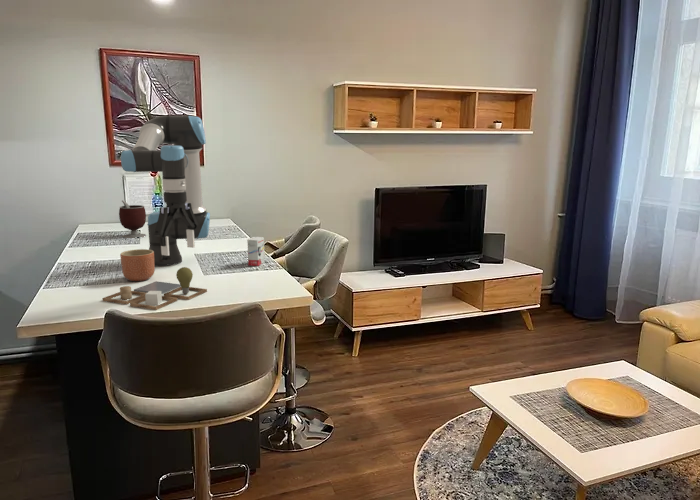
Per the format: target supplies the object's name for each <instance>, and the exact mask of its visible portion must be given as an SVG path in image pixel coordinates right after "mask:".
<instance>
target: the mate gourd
mask: <svg viewBox="0 0 700 500" xmlns="http://www.w3.org/2000/svg"><path fill="white" fill-rule="evenodd" d="M121 202H122V203H123V205H122V206H119V209H118V218H119V221H120V222H119V223H120V225H121V226H122V227H123V229H126V230H129V231H130V233H127V234H124V235H122V238H123V237H125V238H124V239H127V238H135V237H142V238H145V237H147V234H146V233H138V230H139V229H142V228H143V227H144V226H145V224H146V220H147V213H146V208H145V205H140V204H134V205H133V204H132V205H131V204H129V203H127V202H126V201H125V200H121ZM144 236H145V237H144ZM135 239H136V238H135Z"/></svg>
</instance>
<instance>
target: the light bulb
mask: <svg viewBox="0 0 700 500" xmlns="http://www.w3.org/2000/svg"><path fill="white" fill-rule="evenodd" d="M175 274H176V275H175V276H176V279H177V282H178V284H180V285H181V288H182V290H181V292H182V294H183V295H188V294H189V293H190V290H189V287H191V286H190V284H191V282H192V280H193V275H194V274H193V271H192V270H191V269H190V268H189V267H187V266H182V267H180V268H179V269H178V270H177V271H176V273H175Z"/></svg>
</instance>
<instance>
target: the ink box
mask: <svg viewBox="0 0 700 500" xmlns="http://www.w3.org/2000/svg"><path fill="white" fill-rule="evenodd" d="M246 243H247V263H248V266H249V267H250V266H251V267H260V266H261V265H262V264H264V263H265V262H266V261H265V258H266V257H265V237H263V236H252V237H250V238H248V239H247V242H246Z"/></svg>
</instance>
